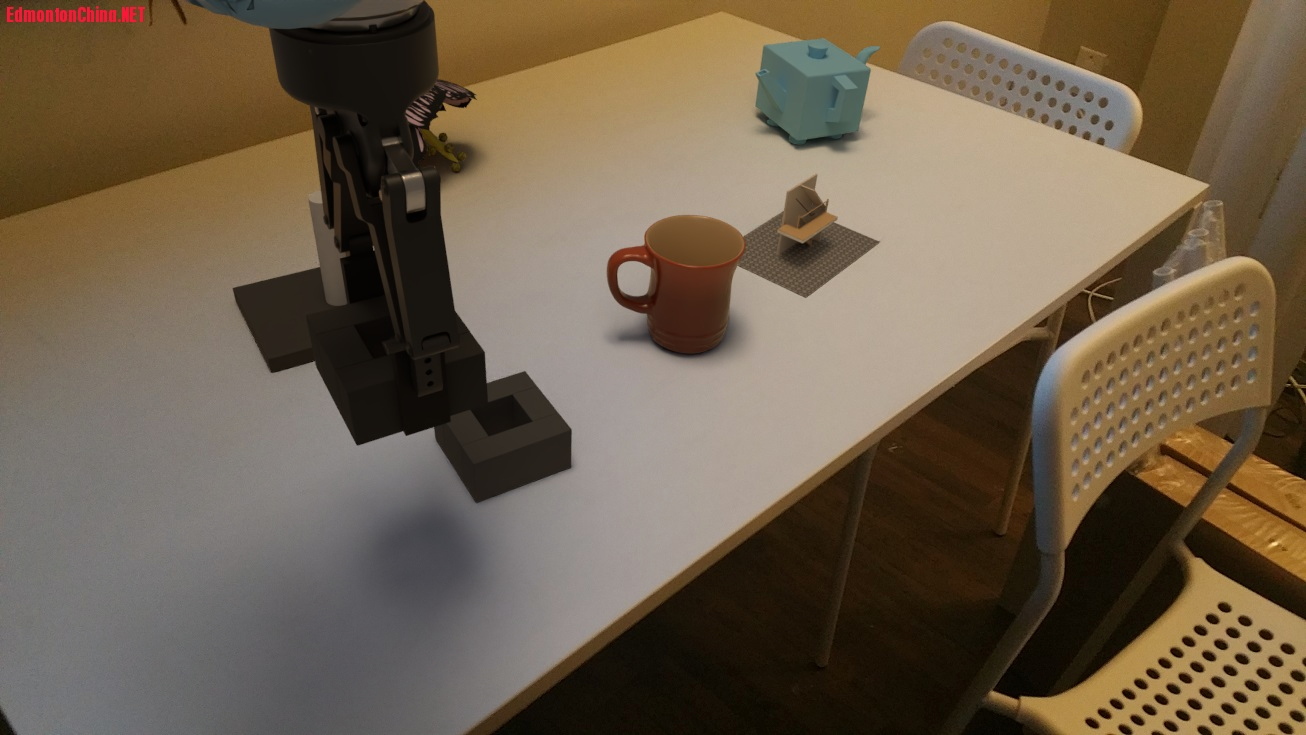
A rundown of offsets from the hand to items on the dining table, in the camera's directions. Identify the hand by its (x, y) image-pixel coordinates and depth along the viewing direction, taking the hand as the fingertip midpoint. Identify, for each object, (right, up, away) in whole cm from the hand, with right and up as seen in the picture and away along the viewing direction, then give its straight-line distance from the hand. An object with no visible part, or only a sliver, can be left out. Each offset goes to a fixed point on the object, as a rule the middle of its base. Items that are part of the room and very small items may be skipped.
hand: (400, 381), depth 60 cm
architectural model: (+31, +13, +45) cm, 56 cm away
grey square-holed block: (+3, -6, +18) cm, 19 cm away
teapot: (+36, +32, +69) cm, 84 cm away
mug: (+17, +4, +31) cm, 36 cm away
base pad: (-13, +6, +31) cm, 35 cm away
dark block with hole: (0, 0, 0) cm, 0 cm away
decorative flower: (-12, +24, +54) cm, 61 cm away
